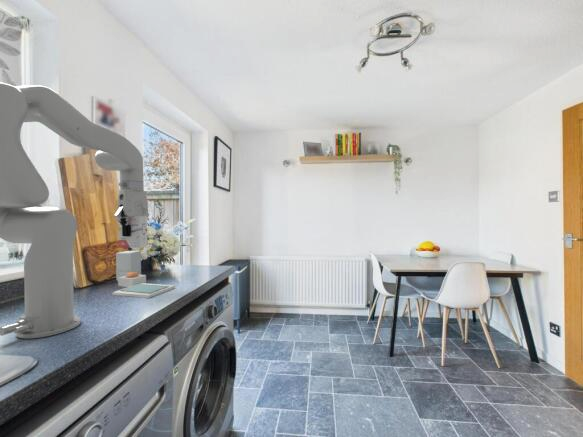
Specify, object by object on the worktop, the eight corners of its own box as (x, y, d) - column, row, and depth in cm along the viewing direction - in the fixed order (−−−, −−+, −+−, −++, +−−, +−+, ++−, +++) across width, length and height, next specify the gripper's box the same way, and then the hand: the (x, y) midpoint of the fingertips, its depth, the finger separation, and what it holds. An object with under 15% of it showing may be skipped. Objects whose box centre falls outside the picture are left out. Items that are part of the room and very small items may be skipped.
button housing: (132, 287, 111) (132, 278, 111) (118, 286, 113) (118, 277, 113) (146, 283, 118) (146, 275, 118) (132, 282, 120) (132, 274, 120)
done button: (132, 280, 113) (132, 274, 113) (124, 279, 114) (124, 273, 114) (140, 277, 117) (140, 272, 117) (132, 277, 118) (132, 271, 118)
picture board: (148, 298, 97) (148, 295, 97) (112, 294, 101) (112, 291, 101) (174, 288, 110) (174, 285, 110) (142, 285, 115) (142, 282, 115)
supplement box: (141, 277, 129) (141, 250, 129) (131, 281, 122) (130, 252, 122) (127, 277, 130) (126, 250, 130) (115, 280, 123) (115, 252, 123)
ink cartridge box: (117, 247, 100) (116, 207, 99) (127, 246, 105) (125, 207, 104) (140, 248, 99) (139, 207, 99) (148, 246, 104) (147, 207, 104)
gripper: (120, 184, 92) (122, 238, 93) (157, 188, 109) (158, 233, 110) (103, 185, 94) (104, 237, 95) (141, 188, 111) (142, 233, 111)
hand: (133, 234), depth 102 cm, fingers closed on ink cartridge box, 5 cm apart
